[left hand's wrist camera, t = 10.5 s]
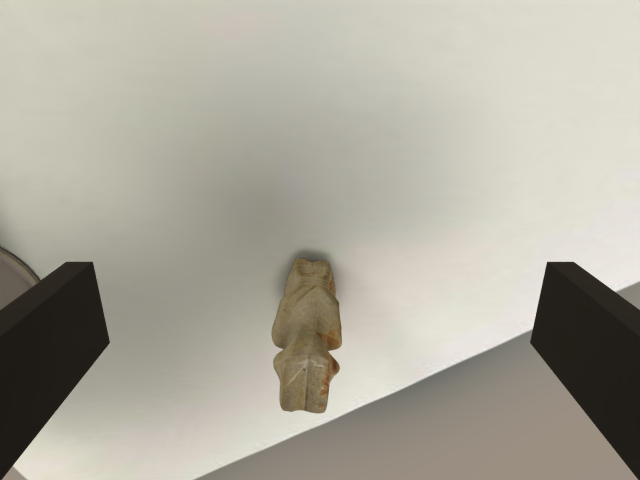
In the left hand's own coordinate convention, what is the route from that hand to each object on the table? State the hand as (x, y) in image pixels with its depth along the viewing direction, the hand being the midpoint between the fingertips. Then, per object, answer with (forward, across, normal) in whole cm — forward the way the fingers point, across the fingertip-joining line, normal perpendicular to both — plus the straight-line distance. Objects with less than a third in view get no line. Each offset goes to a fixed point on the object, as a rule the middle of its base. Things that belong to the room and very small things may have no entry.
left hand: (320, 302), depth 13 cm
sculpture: (+28, +1, +13) cm, 31 cm away
